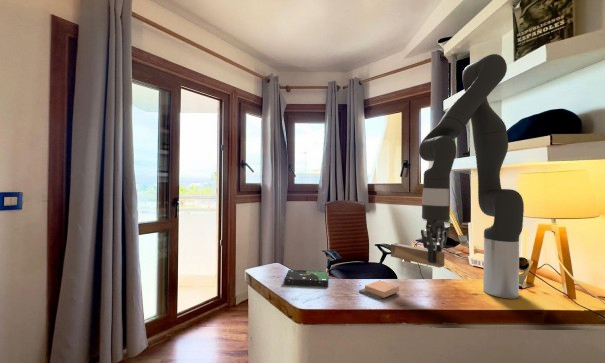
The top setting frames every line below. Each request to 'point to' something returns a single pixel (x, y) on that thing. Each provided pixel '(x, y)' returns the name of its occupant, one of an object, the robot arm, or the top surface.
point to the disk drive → (306, 278)
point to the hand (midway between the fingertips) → (434, 261)
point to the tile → (382, 288)
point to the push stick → (416, 254)
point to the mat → (370, 294)
